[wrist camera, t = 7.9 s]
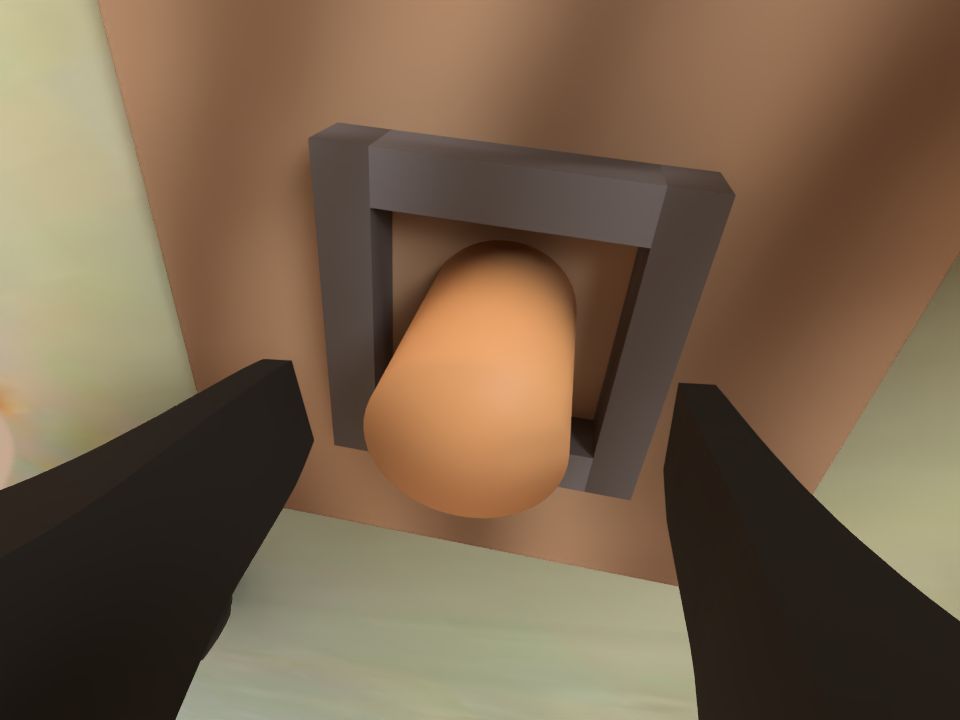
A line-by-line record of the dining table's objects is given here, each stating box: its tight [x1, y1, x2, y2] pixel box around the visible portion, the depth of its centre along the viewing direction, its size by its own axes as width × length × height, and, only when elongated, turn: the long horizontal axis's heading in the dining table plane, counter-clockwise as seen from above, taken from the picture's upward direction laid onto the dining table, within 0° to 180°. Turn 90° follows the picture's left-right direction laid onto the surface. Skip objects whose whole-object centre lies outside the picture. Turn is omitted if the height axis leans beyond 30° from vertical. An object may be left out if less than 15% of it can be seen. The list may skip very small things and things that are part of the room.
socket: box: [98, 0, 960, 586], centre depth 14 cm, size 18×18×2 cm
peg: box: [363, 240, 577, 518], centre depth 12 cm, size 4×4×5 cm
